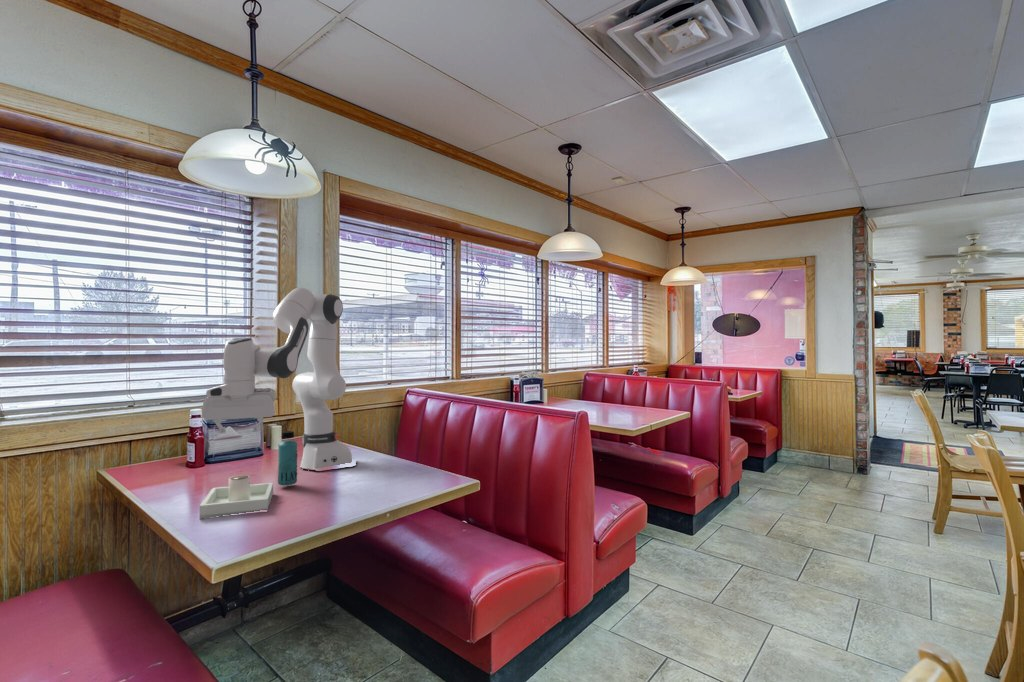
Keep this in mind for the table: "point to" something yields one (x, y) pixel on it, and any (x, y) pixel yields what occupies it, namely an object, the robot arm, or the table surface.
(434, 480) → the table surface
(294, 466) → the beverage bottle
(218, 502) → the tray
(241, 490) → the cup
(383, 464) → the table surface
